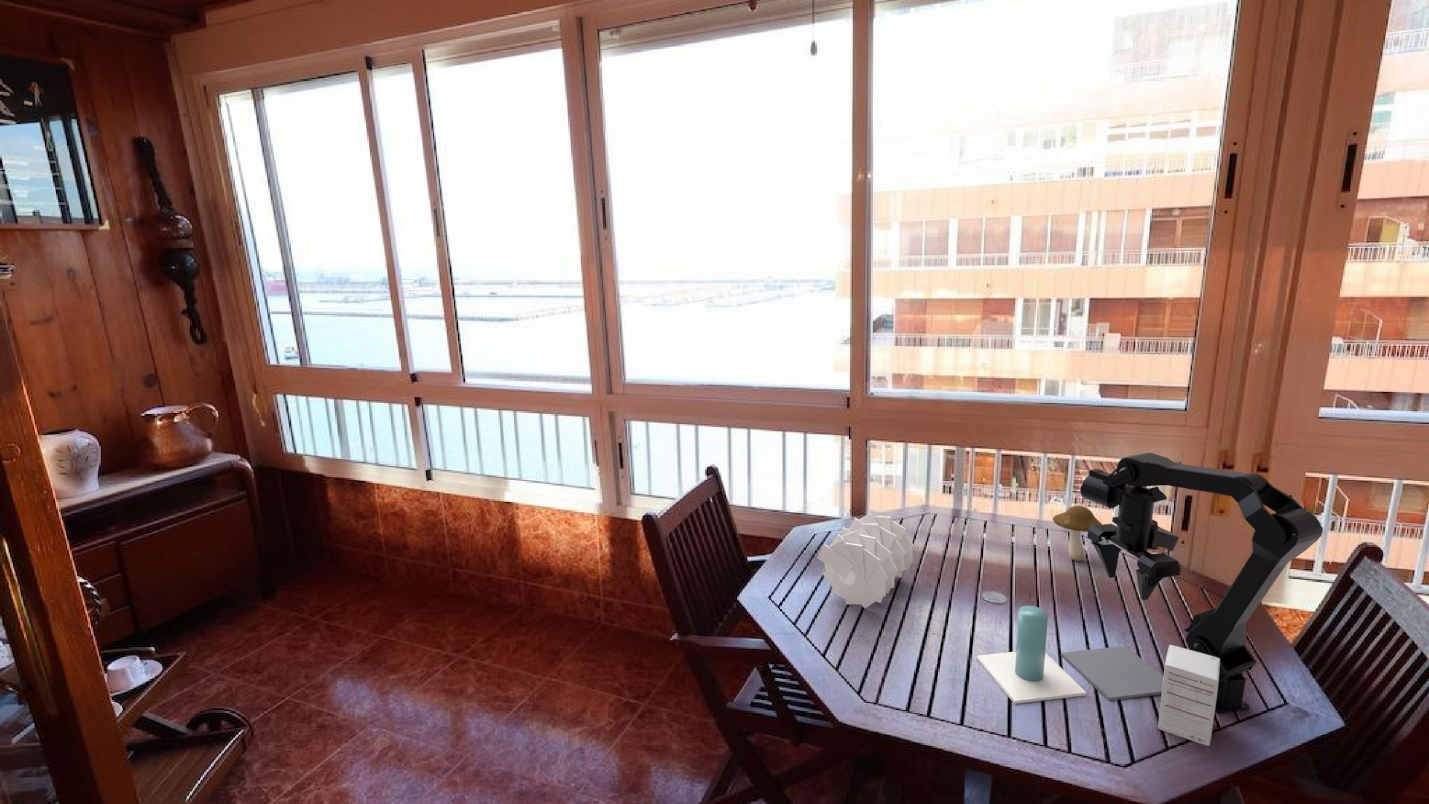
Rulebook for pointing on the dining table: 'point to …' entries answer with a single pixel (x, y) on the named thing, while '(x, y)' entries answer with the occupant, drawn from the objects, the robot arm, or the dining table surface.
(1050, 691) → the pale tile
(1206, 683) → the supplement box
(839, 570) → the spiral staircase
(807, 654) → the dining table surface
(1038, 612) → the teal cylinder
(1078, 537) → the mushroom
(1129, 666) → the slate tile
